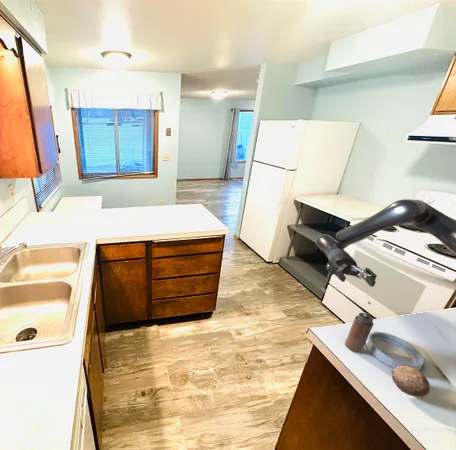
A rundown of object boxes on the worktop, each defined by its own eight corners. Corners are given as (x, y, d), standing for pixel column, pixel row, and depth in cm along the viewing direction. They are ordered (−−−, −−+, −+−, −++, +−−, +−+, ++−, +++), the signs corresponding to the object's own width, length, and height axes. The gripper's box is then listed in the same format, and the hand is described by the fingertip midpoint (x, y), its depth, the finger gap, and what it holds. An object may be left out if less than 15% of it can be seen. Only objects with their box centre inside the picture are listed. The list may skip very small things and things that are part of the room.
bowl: (403, 345, 83) (407, 337, 82) (430, 379, 72) (435, 371, 70) (358, 335, 87) (361, 327, 86) (376, 366, 75) (380, 358, 74)
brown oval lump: (393, 357, 74) (408, 358, 68) (422, 380, 70) (441, 383, 65) (379, 377, 72) (394, 379, 67) (408, 402, 69) (426, 406, 63)
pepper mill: (357, 344, 83) (372, 310, 78) (363, 355, 79) (379, 320, 74) (342, 340, 84) (355, 307, 79) (347, 351, 80) (362, 316, 75)
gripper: (323, 249, 99) (337, 269, 85) (364, 255, 95) (386, 276, 81) (319, 265, 102) (331, 286, 87) (358, 271, 98) (379, 295, 83)
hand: (358, 282), depth 84 cm, fingers open, 8 cm apart
